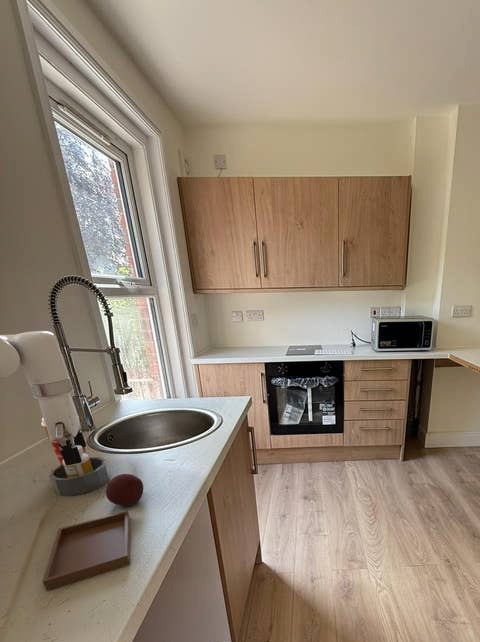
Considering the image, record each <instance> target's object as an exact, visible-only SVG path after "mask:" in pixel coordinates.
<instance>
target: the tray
mask: <svg viewBox="0 0 480 642" xmlns="http://www.w3.org/2000/svg"><path fill="white" fill-rule="evenodd" d="M130 565H131V516H130V512H129V510H125V511H122V512H117V513H114V514H109V515H105V516H102V517H98V518H94V519H90V520H86V521H83V522H78V523H75V524H74V523H73V524H71V525H67V526H64V527H63V526H62V527H60V528H58V529H57V533H56V537H55V540H54V543H53V546H52V549H51V553H50V556H49V559H48V562H47V565H46V566H47V567H46V569H45V572H44V575H43V579H42V585H43V587H44V589H45V591H46V592H47V591H51V590H54V589H56V588H57V589H58V588H60V587H64V586H66V585H69V584H73V583H76V582H79V581H82V580H86V579H88V578H92V577H95V576H98V575H101V574H104V573H107V572H110V571H111V572H112V571H114V570H117V569H120V568H123V567H126V566H127V567H128V566H130Z"/></svg>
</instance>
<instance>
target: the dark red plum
mask: <svg viewBox="0 0 480 642" xmlns="http://www.w3.org/2000/svg"><path fill="white" fill-rule="evenodd" d="M143 495H144V483H143V480H142V479H140V478H139V477H138V476H136V475H134V474H130V473H122V474H118V475H116V476H114V477H113V478H110V480H109V481H108V482H107V483H106V487H105V496H106V498H107V500H108V501H109V502H110V503H112V504H114V505H116V506H125V507H127V506H133V505H134V504H137V503H138V502H139V501H140V500H141V498H142V497H143Z"/></svg>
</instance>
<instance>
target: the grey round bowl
mask: <svg viewBox="0 0 480 642" xmlns="http://www.w3.org/2000/svg"><path fill="white" fill-rule="evenodd" d="M88 457H89V459H90V462H91V465H92V469H93V471H92V472H89V473H87V474H84V475H81V476H76V477H71V478H68V476H67V474H66V471H65V468H64V465H63V464H59V465H57V466H56V467H55V468H53V469H52V470H51V471H50V472H49V473H50V474H49V476H48V477H49V480H50V482H51V485H52V488H53V490H54V493H56V494H58V496H60V497H63V496H64V497H75V496H79V495H83V494H87V493H90V492H93V491H95V490H97V489H99V488H102V487H103V486H104V485H106V484H108V483H109V481H110V480H111V474H110V470H109V466H108V463H107V459H105V458H102V457H101V456H88Z"/></svg>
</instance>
